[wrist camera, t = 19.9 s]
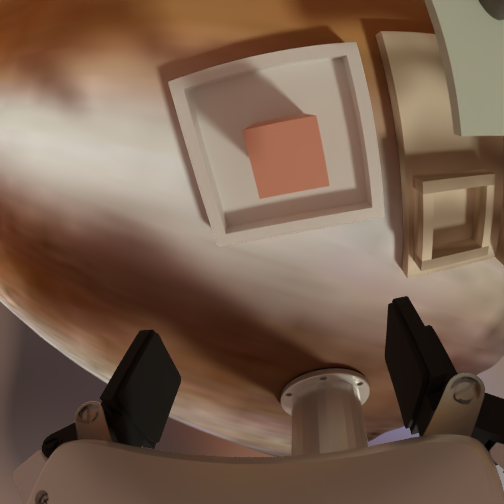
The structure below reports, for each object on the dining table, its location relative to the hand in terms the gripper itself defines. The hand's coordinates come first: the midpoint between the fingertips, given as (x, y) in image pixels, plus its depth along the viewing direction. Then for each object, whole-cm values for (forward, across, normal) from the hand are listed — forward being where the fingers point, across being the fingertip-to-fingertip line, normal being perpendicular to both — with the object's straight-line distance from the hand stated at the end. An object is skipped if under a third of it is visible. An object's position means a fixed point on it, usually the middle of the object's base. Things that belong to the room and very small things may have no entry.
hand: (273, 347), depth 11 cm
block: (+14, -2, -6) cm, 16 cm away
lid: (+6, -18, -11) cm, 22 cm away
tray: (+15, -2, -6) cm, 17 cm away
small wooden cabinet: (+15, -18, -4) cm, 24 cm away
